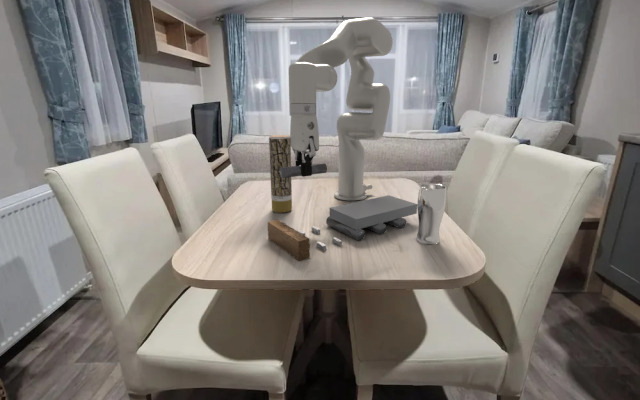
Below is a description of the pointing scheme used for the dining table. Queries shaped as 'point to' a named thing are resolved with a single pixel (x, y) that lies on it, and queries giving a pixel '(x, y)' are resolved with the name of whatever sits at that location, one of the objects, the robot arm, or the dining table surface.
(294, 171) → the roller
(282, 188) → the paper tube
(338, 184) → the robot arm
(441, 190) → the beer glass
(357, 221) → the slab
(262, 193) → the dining table surface
